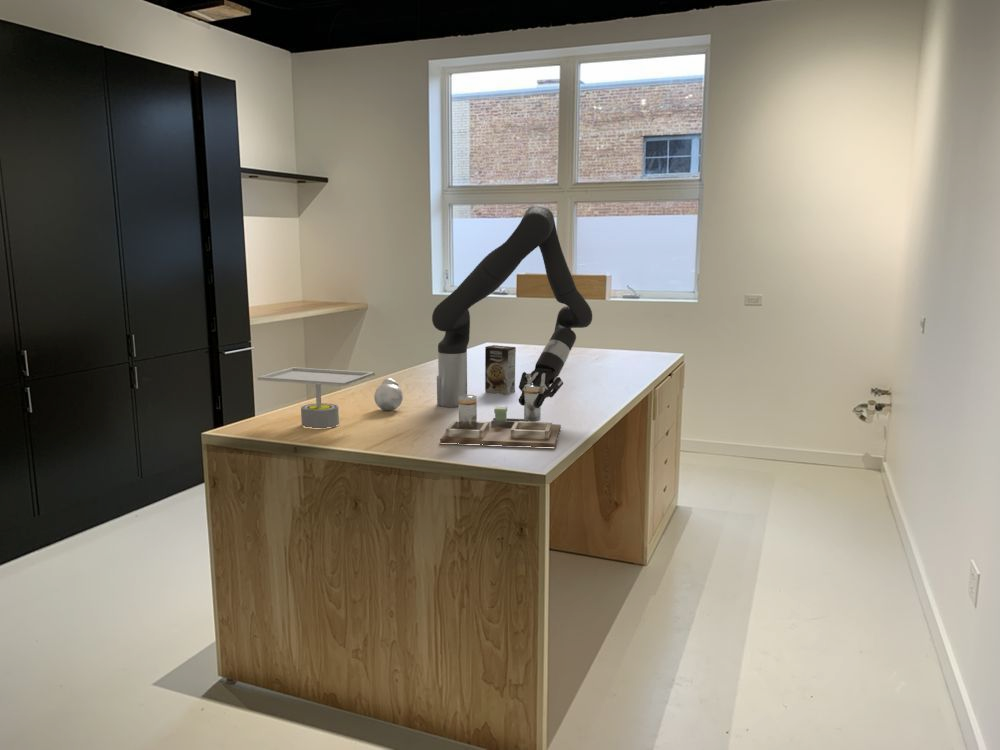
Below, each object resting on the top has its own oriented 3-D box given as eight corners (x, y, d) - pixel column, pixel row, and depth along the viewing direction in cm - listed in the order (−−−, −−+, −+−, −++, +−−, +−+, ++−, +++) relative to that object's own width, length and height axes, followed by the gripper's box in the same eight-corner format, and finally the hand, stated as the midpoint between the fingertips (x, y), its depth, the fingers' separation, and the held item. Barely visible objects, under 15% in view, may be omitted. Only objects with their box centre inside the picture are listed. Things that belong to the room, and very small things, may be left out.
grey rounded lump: (410, 408, 236) (409, 377, 234) (391, 414, 228) (390, 382, 226) (387, 405, 241) (386, 375, 239) (368, 411, 233) (367, 380, 231)
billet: (522, 421, 216) (523, 387, 214) (525, 417, 220) (525, 384, 218) (539, 421, 215) (540, 387, 213) (541, 417, 220) (541, 384, 218)
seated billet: (457, 434, 199) (456, 398, 197) (460, 430, 204) (460, 394, 202) (475, 435, 199) (474, 398, 197) (478, 430, 203) (478, 394, 201)
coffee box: (484, 392, 261) (484, 346, 258) (493, 389, 267) (493, 344, 264) (507, 395, 257) (507, 348, 254) (516, 391, 263) (516, 346, 260)
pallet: (440, 444, 196) (439, 431, 195) (456, 425, 215) (456, 413, 214) (554, 449, 191) (554, 435, 190) (560, 429, 210) (560, 417, 210)
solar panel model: (260, 428, 212) (257, 376, 209) (295, 415, 228) (293, 366, 225) (346, 437, 203) (344, 382, 200) (376, 422, 219) (375, 372, 216)
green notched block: (494, 425, 208) (494, 408, 208) (496, 422, 212) (496, 406, 211) (505, 425, 208) (505, 409, 207) (507, 423, 211) (507, 406, 210)
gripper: (578, 369, 220) (553, 416, 213) (538, 363, 229) (514, 408, 222) (568, 353, 215) (543, 401, 208) (528, 348, 224) (503, 394, 217)
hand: (528, 405), depth 215 cm, fingers closed on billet, 4 cm apart
